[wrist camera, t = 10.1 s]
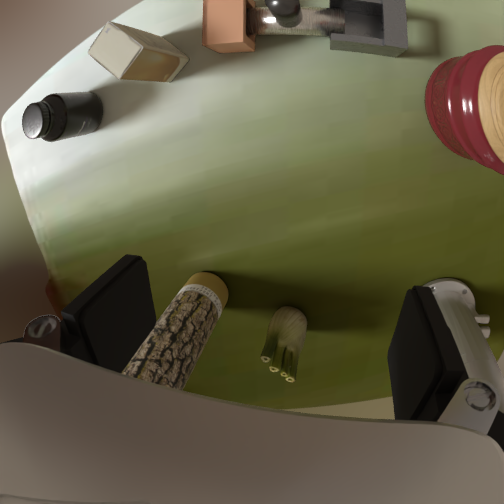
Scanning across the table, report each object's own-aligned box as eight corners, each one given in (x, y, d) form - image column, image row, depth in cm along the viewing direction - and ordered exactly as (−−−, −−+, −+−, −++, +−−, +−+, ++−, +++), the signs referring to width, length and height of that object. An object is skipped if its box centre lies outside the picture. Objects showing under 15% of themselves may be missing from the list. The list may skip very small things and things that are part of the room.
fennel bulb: (270, 303, 47) (253, 358, 37) (302, 297, 46) (292, 353, 35) (282, 332, 49) (268, 389, 39) (312, 327, 48) (305, 385, 37)
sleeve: (394, 14, 27) (405, 0, 21) (395, 57, 29) (407, 49, 24) (329, 6, 28) (329, -11, 23) (330, 49, 31) (331, 38, 25)
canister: (438, 167, 34) (506, 210, 18) (407, 67, 29) (465, 40, 14) (513, 147, 29) (597, 179, 14) (488, 53, 25) (569, 37, 9)
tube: (342, 14, 28) (347, -15, 19) (343, 40, 29) (349, 18, 21) (242, 13, 30) (217, -13, 22) (242, 38, 32) (216, 18, 23)
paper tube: (187, 266, 48) (94, 384, 26) (230, 274, 47) (155, 408, 25) (189, 302, 51) (111, 421, 29) (229, 311, 50) (166, 442, 28)
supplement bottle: (101, 136, 42) (45, 151, 31) (71, 130, 42) (15, 144, 32) (108, 93, 38) (50, 96, 28) (76, 89, 39) (19, 94, 28)
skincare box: (141, 59, 35) (84, 51, 25) (160, 35, 34) (106, 18, 23) (171, 85, 36) (118, 81, 26) (192, 60, 34) (143, 46, 24)
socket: (255, 2, 30) (243, -14, 24) (254, 51, 33) (242, 41, 27) (220, 5, 30) (203, -9, 25) (219, 53, 34) (202, 45, 28)
